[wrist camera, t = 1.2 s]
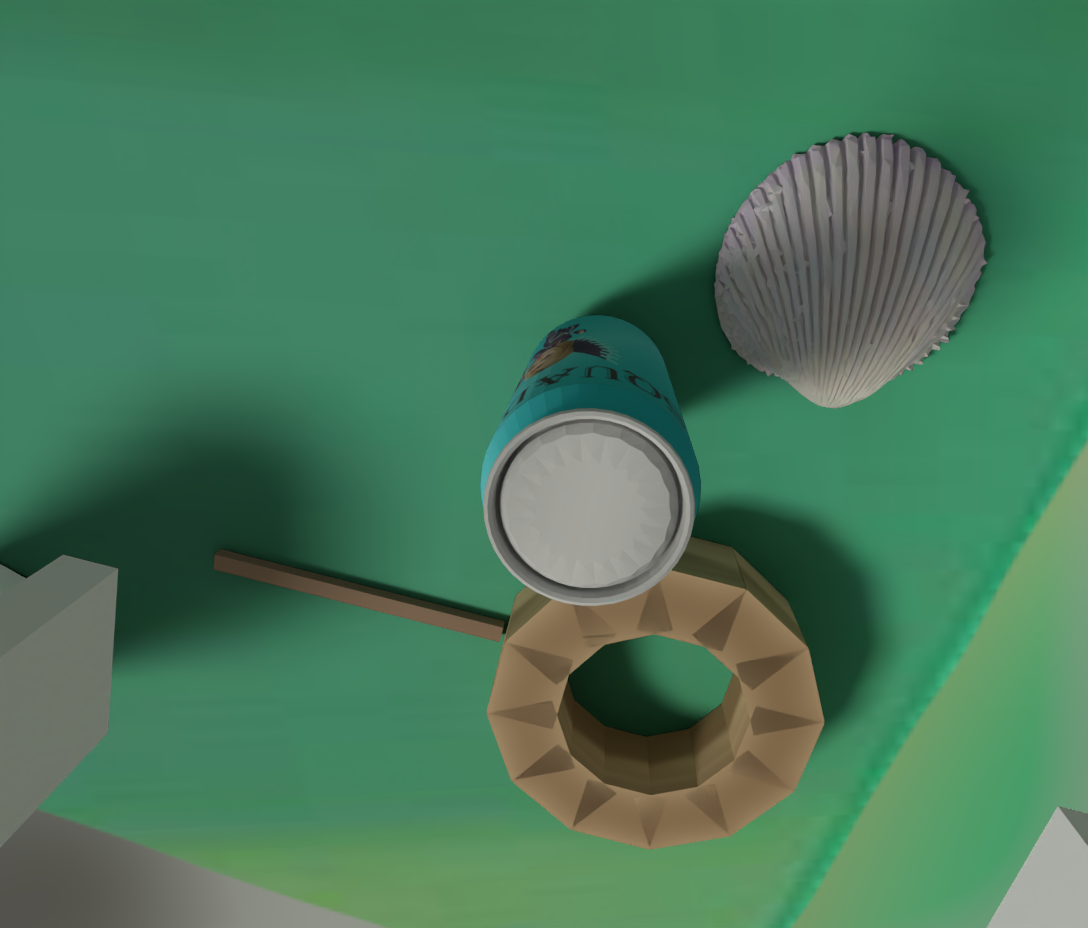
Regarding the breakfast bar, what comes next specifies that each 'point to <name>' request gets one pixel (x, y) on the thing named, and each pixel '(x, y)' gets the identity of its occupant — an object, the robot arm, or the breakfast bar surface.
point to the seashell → (848, 267)
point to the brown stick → (358, 595)
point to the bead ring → (671, 758)
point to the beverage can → (591, 467)
